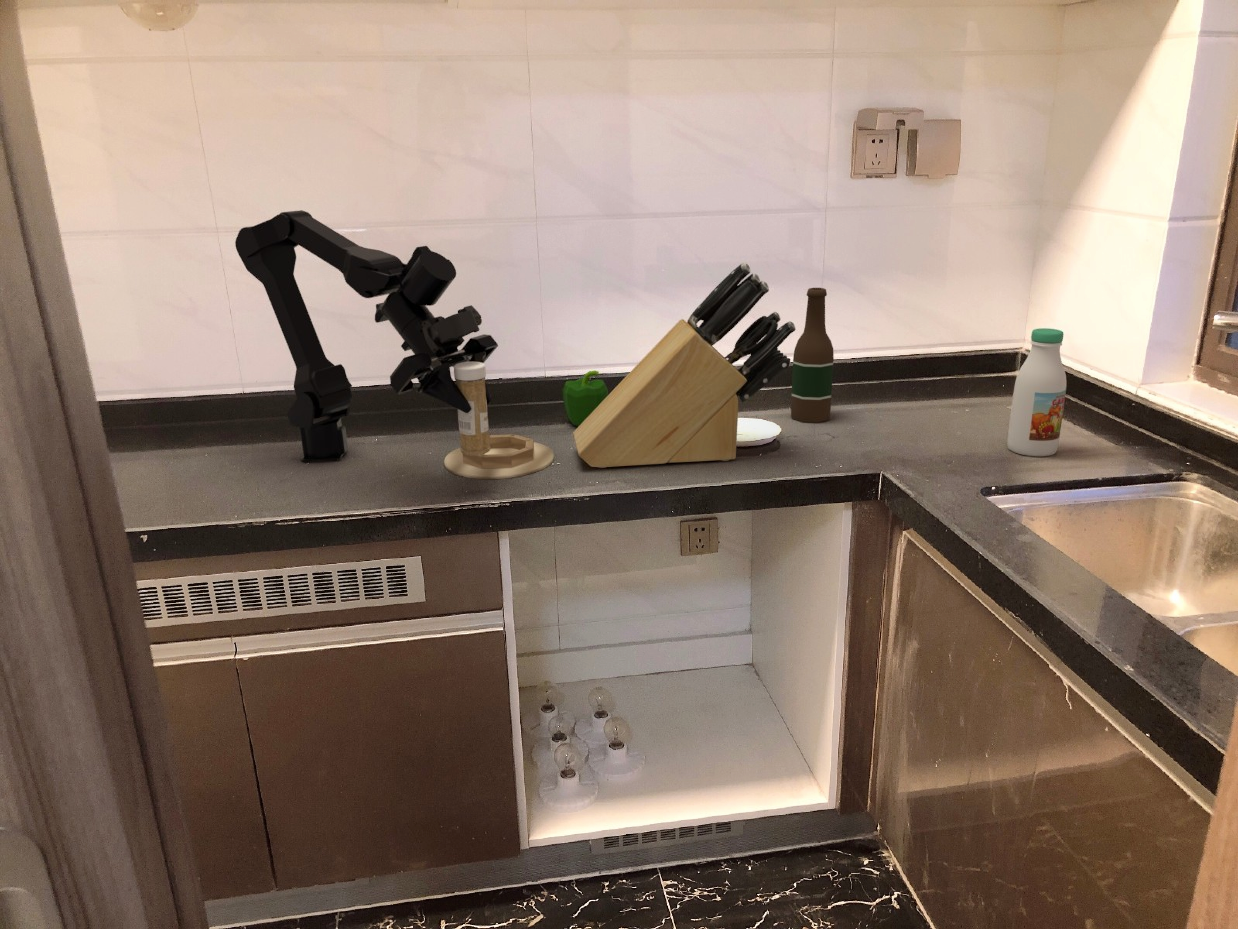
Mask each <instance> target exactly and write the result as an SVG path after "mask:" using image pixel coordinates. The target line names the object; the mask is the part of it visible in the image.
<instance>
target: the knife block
mask: <svg viewBox="0 0 1238 929" xmlns="http://www.w3.org/2000/svg"><path fill="white" fill-rule="evenodd" d="M750 273H751V268H750V266H749V264H748V263H747V262H741V263H740V264H739V265H738V266H737V267H736V268H734V269H733V270H732V271H731V272H730V273H729V274H728V275H727V276H726V277H725V278H724V279H723V280H722V281H721V282H719V284H718V285H716V287H715V288H714V289H713V290H712V291H711V292H709V294H708V295H707V296H706V297H705V299H704V300H703V301H702V302H701V303H700V304H699V305H698V306H697V307H696V308H695V309H694V310H693V312H692V313H690V314H691V315H690V316H689V317H688V319H687V321H686V320H685V319H683V318H682V319H679V320H678V322H677V323H675V325H674V326H673V327H672V328H671V329H670V330H669V331H668V332H667V333H666V334H665V335H664V336H663V337H662V338H661V339H660V340H659V341H658V342H657V343H656V344H655V345H654V347H653V348H652V349H651V350H649V352H648V353H647V354H646V355H645V356H644V357H643V358H642V359H641V360H640V361H639V362H638V363H637V364H636V365H635V367H633V368H632V370H631V371H630V372H628V374H627V375H626V376H625V377H623V379H622V380H621V381H620V382H619V383H618V385H616V386H615V388H614V389H613V390H612V391H611V392H610V393H608V396H607V397H606V398H605V399H604V400H603V401H602V402H601V404H600V405H599V406H598V407H597V408H596V409H595V410H594V411H593V412H592V413H591V414H590V415H589V416H588V417H587V418H586V419H585V420H584V421H583V423H582V424H581V425H580V426H577V428H576V429H575V430H574V431H573V432H572V435H573V437H574V441H575V446H576V451H577V454H578V456H579V457H580V458H581V459H582V460H584V462H586V463H587V465H589V466H590V467H591V468H598V469H605V468H607V467H608V468H609V467H611V468H612V467H625V466H626V467H627V466H645V465H659V464H661V465H662V464H666V463H670V464H671V463H686V462H687V463H688V462H689V463H690V462H707V461H723V462H727V461H730V460H734V459H736V454H737V442H738V441H737V440H738V439H737V437H738V421H739V420H738V418H739V417H738V416H739V399H740V401H741V403H742V404H743V403H744V402H745V401H746V400H748V399H750V398H751V397H752V396H753V395H755V394H756V393H757V392H759V391H760V390H762V389H763V387H765V386H766V385H767V384H768V383H769V382H771V380H772V379H774V378H775V377H776V376H777V375H778V374H779V373H781V372H782V371H783V370H785V369H788V368H789V366H790V364H791V358H789V357H788V356H787V355H785V354H784V353H783V352H782V351H781V350H779V346H780V345H781V344H782V343H784V342H785V340H786V339H787V338H788V337H789V336H790V335H791V334H793V332H796V326H795V324H794V322H792V321H787V322H785V323H784V324H783V325H781V326H780V327H779V322H780V321H781V316H780V313H778V312H777V311H773V312H772V313H770V314H769V315H768V316H766V315H762V316H761V317H759V318H758V319H756V320H755V321H754V322H752V323H751V324H750V325H749V326H748V327H747V328H746V329H745V331H743V333H742V334H740V336H739V337H738V339H737V341H735V344H734V348H733V349H732V351H731V352H729V353H727V355H726V356H725V357H724V355H722V354H721V353H720V352H719V351H718V350H717V349H716V347H714V345H715V344H717V343H718V342H720V341H721V340H722V339H723V338H724V337H725V336H726V335H727V334H729V332H730V331H732V330H733V328H735V327H737V326H736V325H738V324H739V323H740V322H741V321H742V320H743V319H744V318H745V317H746V316H747V315H748V314H749V312H751V310H752V309H753V308H754V307H755V306H756V304H757V303H758V302H759V301H760V300H761V299H762V297H763V296H765V295H766V294H767V293H769V291H770V286H769V285H768V283H767V282H765V281H764V280H761V279H760V276H758V274H756V273H754V272H753V273H751V274H750ZM747 276H748V277H747ZM700 321H702V322H701V324H700V325H699V326H698V323H699V322H700ZM747 356H748V358H747V359H746V360H744V362H743V365H742V366H741V367H739V368H738V369H737V368H736V367H735V366H734V363H736V362H738V361H739V360H740V359H741V358H745V357H747ZM738 397H739V398H738Z"/></svg>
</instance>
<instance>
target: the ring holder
mask: <svg viewBox="0 0 1238 929" xmlns="http://www.w3.org/2000/svg"><path fill="white" fill-rule="evenodd" d="M489 445H490V451H489V452H487V453H485V454H482V455H475V456H473V455H465V454H463V453H462V452H461V450H460V449H461V447H459V448H458V447H457V448H456V449H453V450H452V451H451V452H449V453H448V454H447V455H446V456H445V457H444V467H445V469H446V470H447V471H448V472H450V473H451V474H454V475H457V476H460V477H462V476H463V477H462V478H467V479H468V478H469V479H476V480H477V479H478V480H502V479H503V480H504V479H512V478H519V477H522V476H527V475H528V476H529V475H532V474H534V473H535V474H536V473H537V472H540V471H542V470H544V469H546V468H547V467H549V466H551V464H552V463H553V462H554V457H555V456H554V455H555V454H554V451H553V450H552V449H551V448H550V447H549V446H547V445H544V444H542V443H540V442H539V443H538V442H535V441H534V439H532V438H530V437H529V438H528V437H526V436H522V435H518V434H491V435H489Z"/></svg>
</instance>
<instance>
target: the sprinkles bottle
mask: <svg viewBox="0 0 1238 929" xmlns="http://www.w3.org/2000/svg"><path fill="white" fill-rule="evenodd" d="M486 370H487V369H486V364H485V363H481V362H462V363H458V364H456V365H455V366H454V367H453V375H454V380H455V381H454V382H455V384H456V385H457V387H458V388H459V389H460V391H461V392H462V394H463V395H464V397H465V398H466V400H467V401H468V403H469V405H470V406H471V411H470V412H469V413H465V412H463V411H461V410H459V409H457V418H458V419H457V420H458V430H459V435H460V448H461V449H460V450H461V452H462V453H463V454H465V455H473V456H475V455H482V454H485V453H487V452H489V451H490V445H489V433H490V432H489V427H490V426H489V418H488V405H487V400H486V389H485V382H486V376H487V372H486Z"/></svg>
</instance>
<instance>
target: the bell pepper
mask: <svg viewBox="0 0 1238 929" xmlns="http://www.w3.org/2000/svg"><path fill="white" fill-rule="evenodd" d="M599 372H600V371H598V370H589V371H588V372H586V373H585V374H584V375H583V377H580V378H578V379H577V380H566V381H565V384H564V386H563V388H562V393H561V394H562V403H563V406H564V409H565V412H566V415H567V418H568V419H569V421H570V422H571V423H572V424H573V425H574V426H576V427H579V426H580V425H581V424H582V423H583V421H584V420H585V419H586V418H587V417H588V416H589V415H590V414H591V413H592V412H593V411H594V410H595V409H596V408H597V407H598V406H599V405H600V404H601V402H602V401H603V400H604V399H605V398H606V397H607V396H608V395H609V390H608V387H607V385H606V383H605V381H604V380H603V379H597V378H596V379H592V380H589V378H590V377H592V376H594V377H598V376H599Z"/></svg>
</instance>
